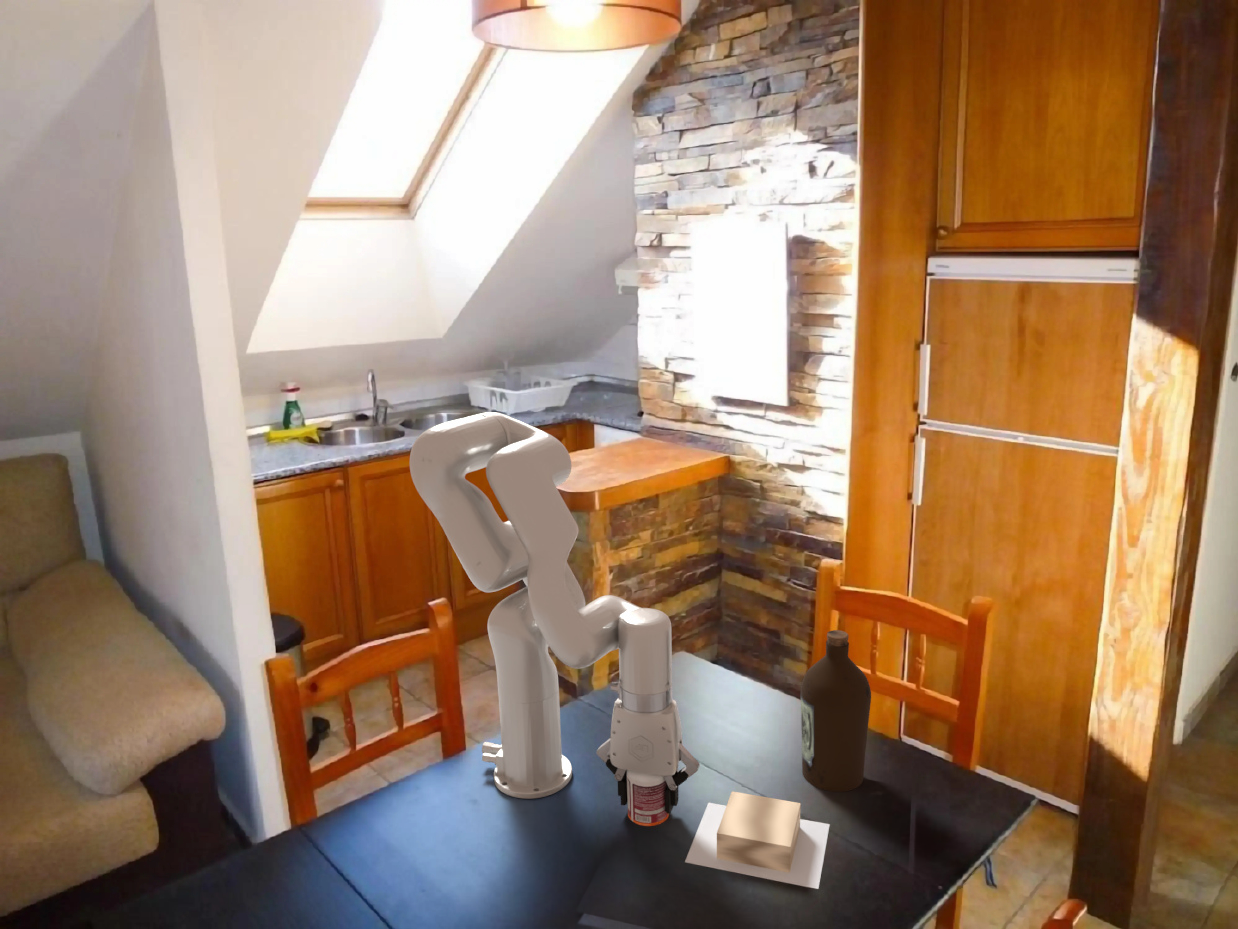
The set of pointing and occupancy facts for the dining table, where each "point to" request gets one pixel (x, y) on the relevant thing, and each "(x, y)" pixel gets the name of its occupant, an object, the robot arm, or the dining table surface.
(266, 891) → the dining table surface
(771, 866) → the birch riser
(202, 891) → the dining table surface
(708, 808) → the white paper sheet
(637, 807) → the pill bottle
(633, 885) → the dining table surface
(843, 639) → the olive oil
